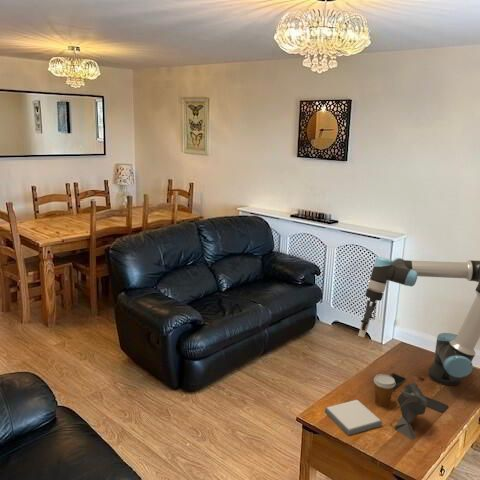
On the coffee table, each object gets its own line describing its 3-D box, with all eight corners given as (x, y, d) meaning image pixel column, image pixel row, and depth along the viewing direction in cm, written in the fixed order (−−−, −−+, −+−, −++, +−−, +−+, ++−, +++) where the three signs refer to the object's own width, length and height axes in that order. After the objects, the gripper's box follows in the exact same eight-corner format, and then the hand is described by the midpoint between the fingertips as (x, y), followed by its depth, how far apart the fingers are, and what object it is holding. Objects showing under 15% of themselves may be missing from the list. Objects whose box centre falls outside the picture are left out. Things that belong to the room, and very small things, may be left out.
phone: (416, 392, 223) (448, 405, 213) (416, 394, 223) (448, 407, 213) (409, 398, 217) (442, 412, 207) (409, 400, 217) (442, 414, 208)
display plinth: (356, 403, 213) (357, 398, 212) (381, 425, 198) (382, 420, 197) (324, 412, 206) (325, 407, 206) (348, 435, 191) (348, 430, 191)
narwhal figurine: (434, 426, 198) (439, 388, 194) (412, 440, 190) (417, 400, 185) (405, 409, 209) (409, 373, 205) (383, 421, 201) (387, 383, 196)
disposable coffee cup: (394, 410, 209) (397, 386, 206) (372, 407, 211) (374, 383, 208) (391, 398, 218) (394, 374, 215) (370, 395, 220) (372, 372, 217)
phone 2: (377, 383, 229) (392, 372, 239) (377, 385, 229) (392, 374, 239) (392, 390, 223) (407, 378, 233) (392, 392, 224) (406, 380, 234)
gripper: (369, 284, 230) (357, 325, 233) (364, 290, 207) (351, 336, 209) (384, 289, 228) (372, 330, 230) (382, 296, 204) (368, 342, 207)
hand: (362, 333), depth 220 cm, fingers open, 13 cm apart
